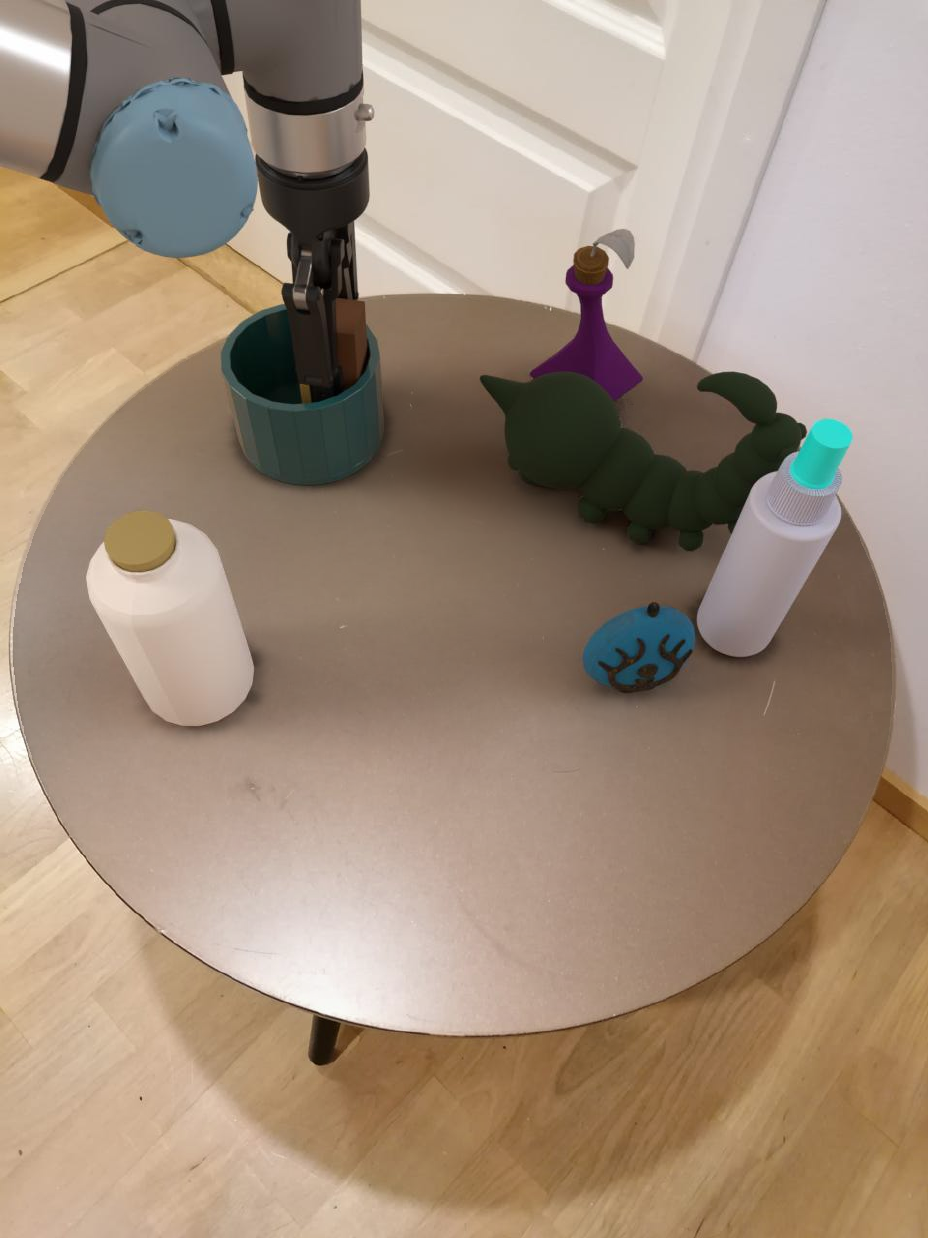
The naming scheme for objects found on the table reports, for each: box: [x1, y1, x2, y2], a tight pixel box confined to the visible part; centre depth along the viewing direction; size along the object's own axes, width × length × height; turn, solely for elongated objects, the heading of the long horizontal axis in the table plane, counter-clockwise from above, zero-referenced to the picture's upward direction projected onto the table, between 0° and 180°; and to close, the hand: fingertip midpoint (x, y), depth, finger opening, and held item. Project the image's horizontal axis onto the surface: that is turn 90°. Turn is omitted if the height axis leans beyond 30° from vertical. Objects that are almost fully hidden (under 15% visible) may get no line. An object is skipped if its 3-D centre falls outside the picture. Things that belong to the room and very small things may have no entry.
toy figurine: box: [479, 371, 808, 553], centre depth 74 cm, size 9×19×25 cm
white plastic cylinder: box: [85, 510, 255, 727], centre depth 63 cm, size 8×8×18 cm
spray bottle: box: [696, 418, 854, 658], centre depth 66 cm, size 6×6×22 cm
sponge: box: [300, 298, 368, 403], centre depth 79 cm, size 4×5×12 cm
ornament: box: [582, 601, 696, 694], centre depth 68 cm, size 8×5×10 cm, turn 100°
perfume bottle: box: [529, 228, 644, 403], centre depth 80 cm, size 8×8×18 cm
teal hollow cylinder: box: [220, 303, 385, 486], centre depth 81 cm, size 13×13×9 cm
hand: (336, 404), depth 82 cm, fingers closed on sponge, 4 cm apart
